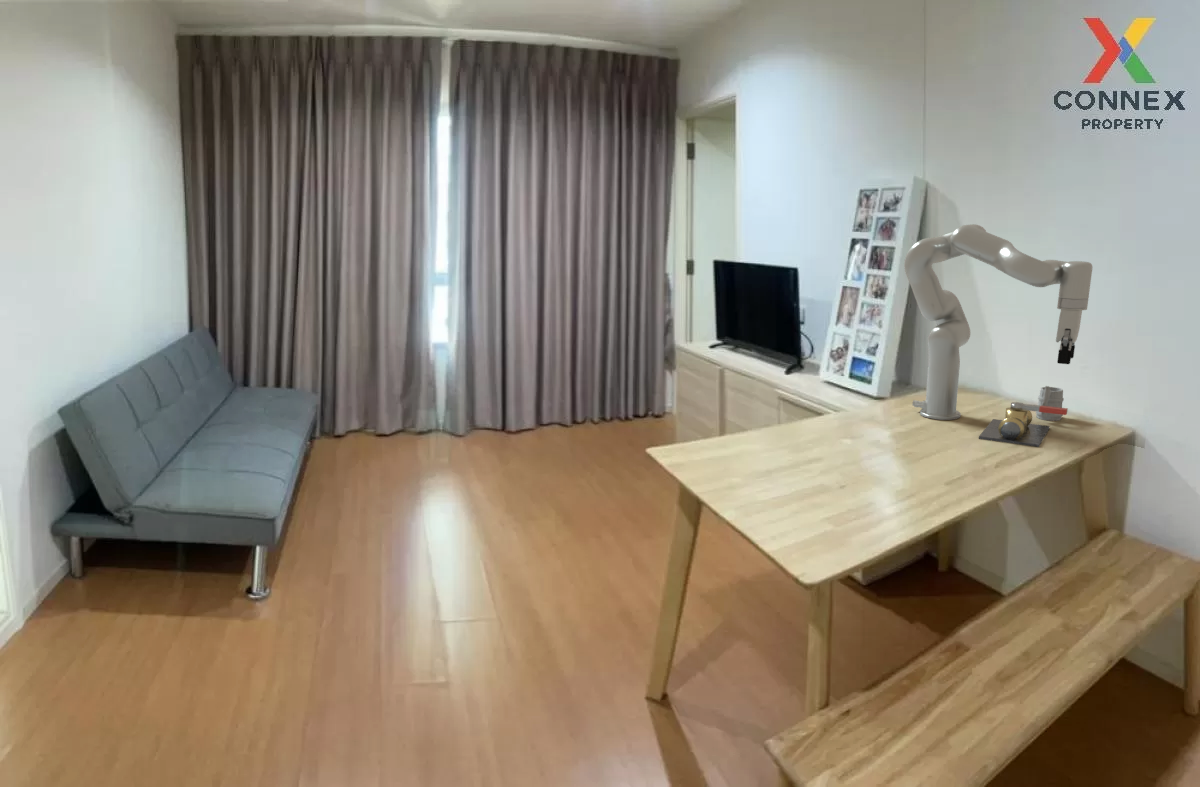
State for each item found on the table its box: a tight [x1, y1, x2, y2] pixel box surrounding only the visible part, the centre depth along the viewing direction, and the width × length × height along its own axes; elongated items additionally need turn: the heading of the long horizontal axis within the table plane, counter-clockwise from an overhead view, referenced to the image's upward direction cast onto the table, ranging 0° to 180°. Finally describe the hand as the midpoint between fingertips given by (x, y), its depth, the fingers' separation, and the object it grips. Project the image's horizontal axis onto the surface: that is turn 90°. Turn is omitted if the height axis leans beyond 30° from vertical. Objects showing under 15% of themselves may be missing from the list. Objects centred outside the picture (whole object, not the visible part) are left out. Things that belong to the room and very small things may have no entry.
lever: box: [1010, 401, 1068, 416], centre depth 224 cm, size 15×4×2 cm, turn 53°
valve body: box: [978, 406, 1050, 448], centre depth 228 cm, size 16×22×8 cm
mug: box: [1035, 385, 1064, 422], centre depth 241 cm, size 8×12×12 cm, turn 136°
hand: (1065, 360), depth 222 cm, fingers open, 9 cm apart
